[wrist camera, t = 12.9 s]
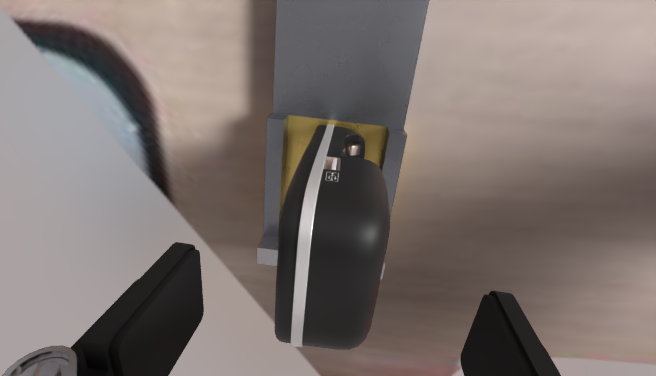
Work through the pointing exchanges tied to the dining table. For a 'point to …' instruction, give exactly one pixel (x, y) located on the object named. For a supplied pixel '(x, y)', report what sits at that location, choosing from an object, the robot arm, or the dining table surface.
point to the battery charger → (331, 243)
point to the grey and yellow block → (338, 88)
